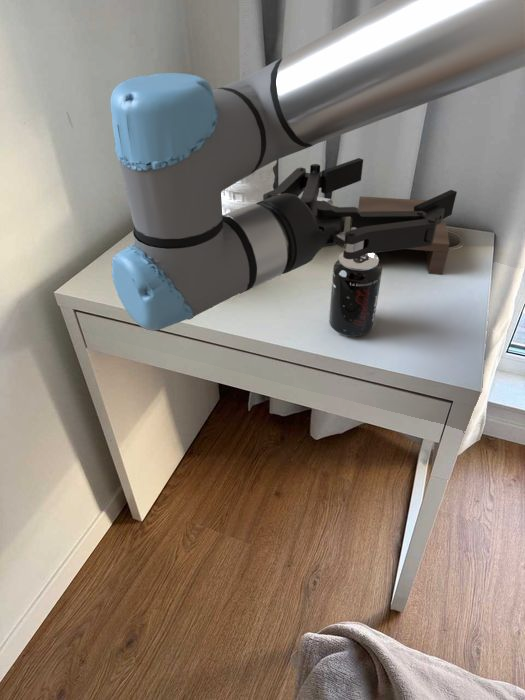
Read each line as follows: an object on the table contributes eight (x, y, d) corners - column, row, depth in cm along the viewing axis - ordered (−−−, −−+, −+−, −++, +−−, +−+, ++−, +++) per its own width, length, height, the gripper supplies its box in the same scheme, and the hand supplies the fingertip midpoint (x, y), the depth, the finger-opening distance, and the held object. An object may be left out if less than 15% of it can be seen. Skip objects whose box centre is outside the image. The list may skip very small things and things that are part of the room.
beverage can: (382, 327, 77) (393, 259, 69) (353, 346, 73) (362, 277, 66) (348, 308, 81) (355, 242, 73) (319, 326, 77) (324, 258, 70)
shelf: (442, 274, 88) (449, 244, 84) (351, 267, 91) (354, 237, 87) (435, 229, 102) (441, 201, 98) (356, 223, 104) (359, 196, 100)
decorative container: (207, 247, 97) (198, 154, 86) (252, 229, 103) (249, 139, 92) (245, 270, 91) (240, 172, 79) (291, 249, 96) (293, 154, 85)
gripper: (200, 231, 59) (326, 185, 70) (356, 327, 45) (487, 251, 55) (194, 168, 55) (330, 128, 65) (366, 253, 40) (508, 184, 50)
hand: (402, 184), depth 60 cm, fingers open, 13 cm apart
